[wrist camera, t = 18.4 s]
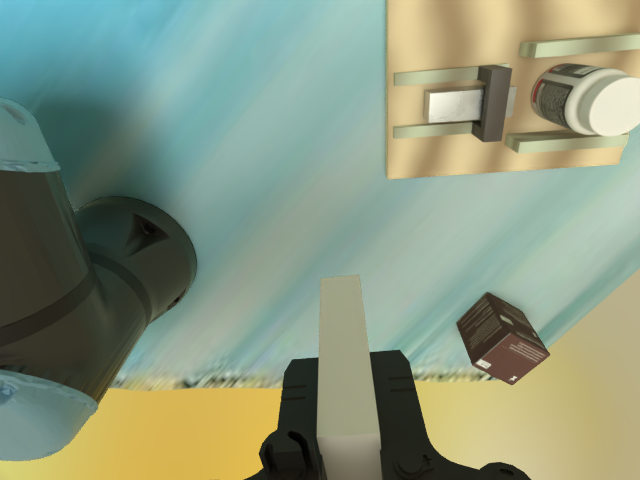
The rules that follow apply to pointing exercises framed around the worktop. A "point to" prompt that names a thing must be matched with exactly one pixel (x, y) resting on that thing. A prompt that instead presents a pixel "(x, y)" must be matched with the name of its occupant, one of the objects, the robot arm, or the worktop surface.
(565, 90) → the pill bottle
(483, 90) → the pin
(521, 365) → the box
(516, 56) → the mount
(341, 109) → the worktop surface
